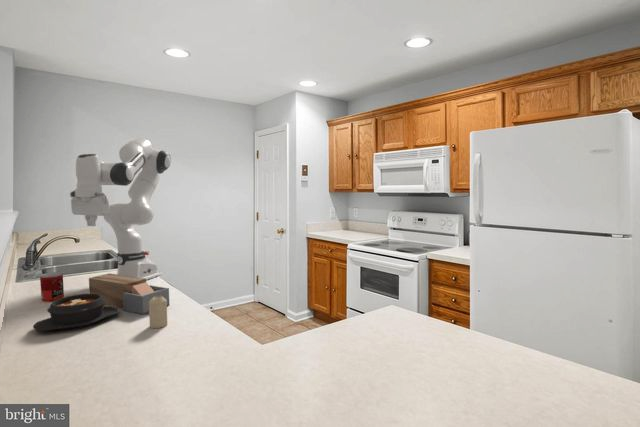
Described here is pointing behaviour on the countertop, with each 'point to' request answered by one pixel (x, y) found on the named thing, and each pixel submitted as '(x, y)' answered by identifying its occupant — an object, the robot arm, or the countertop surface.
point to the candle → (158, 312)
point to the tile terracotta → (141, 289)
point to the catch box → (143, 300)
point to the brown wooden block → (113, 287)
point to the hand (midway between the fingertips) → (91, 226)
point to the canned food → (51, 286)
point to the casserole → (75, 312)
